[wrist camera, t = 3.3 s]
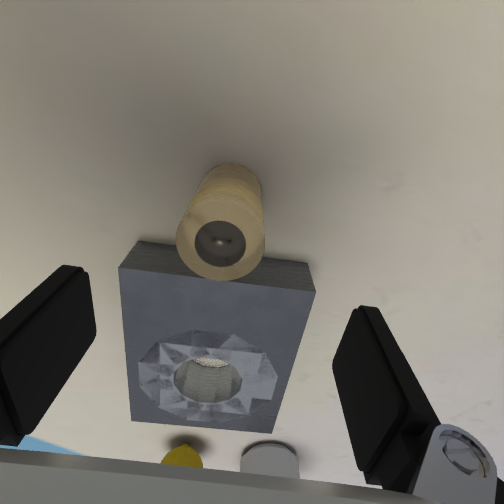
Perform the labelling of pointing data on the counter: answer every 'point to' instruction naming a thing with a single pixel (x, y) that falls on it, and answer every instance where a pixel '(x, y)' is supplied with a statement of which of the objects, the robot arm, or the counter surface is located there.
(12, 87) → the counter surface
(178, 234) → the cylinder
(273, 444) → the can
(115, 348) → the counter surface
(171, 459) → the lemon
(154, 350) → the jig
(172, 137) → the counter surface
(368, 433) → the robot arm
